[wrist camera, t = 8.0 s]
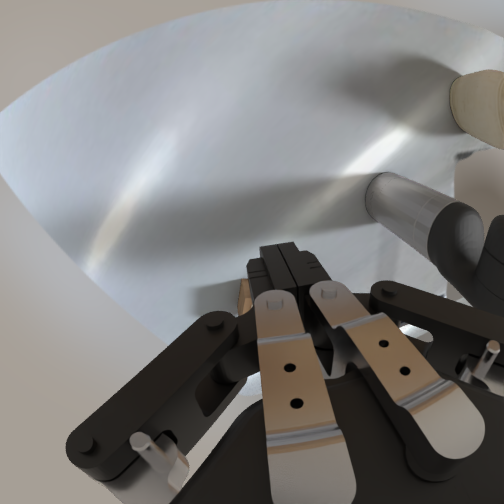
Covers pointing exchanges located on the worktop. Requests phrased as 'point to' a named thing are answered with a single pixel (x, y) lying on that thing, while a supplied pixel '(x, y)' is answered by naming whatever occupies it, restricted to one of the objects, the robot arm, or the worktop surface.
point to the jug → (480, 105)
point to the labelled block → (244, 298)
